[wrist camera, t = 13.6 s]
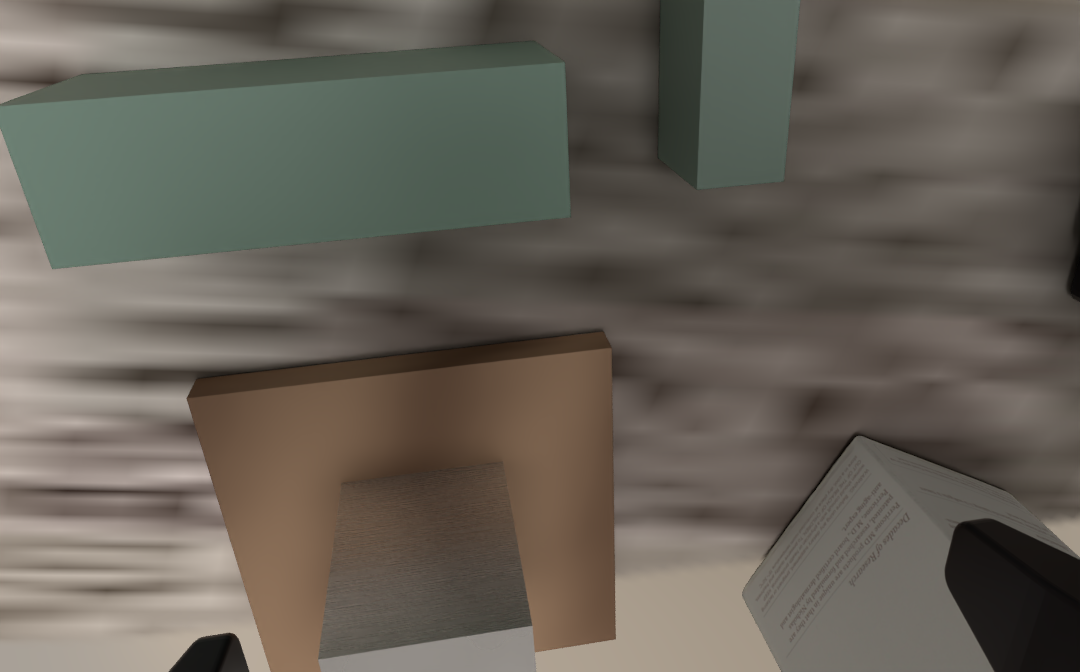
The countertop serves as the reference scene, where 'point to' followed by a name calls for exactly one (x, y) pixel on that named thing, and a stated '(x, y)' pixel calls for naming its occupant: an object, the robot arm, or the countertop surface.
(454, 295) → the countertop surface
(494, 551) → the steel block
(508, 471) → the copper plate
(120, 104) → the vise
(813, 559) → the supplement box
